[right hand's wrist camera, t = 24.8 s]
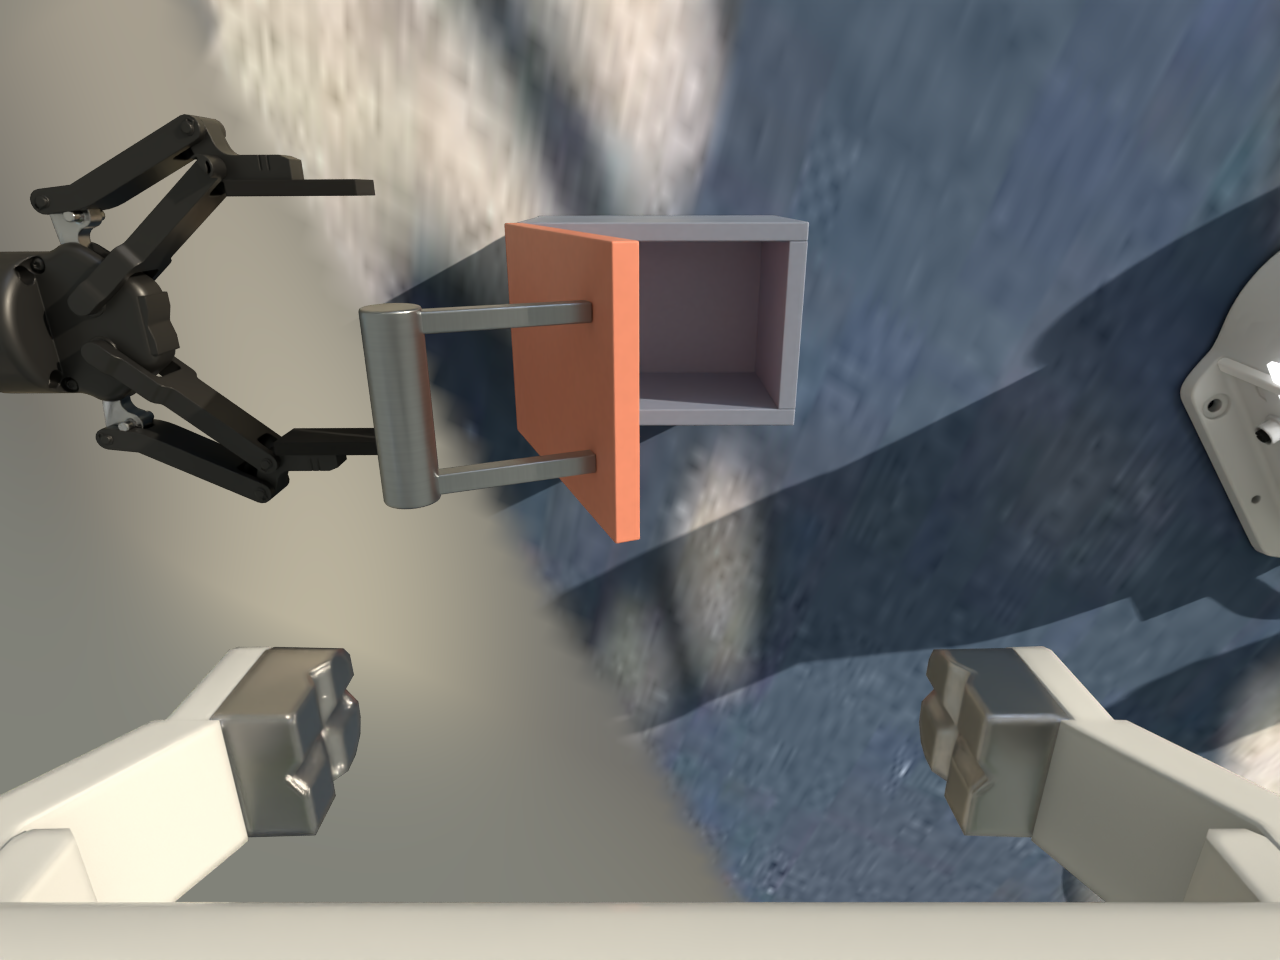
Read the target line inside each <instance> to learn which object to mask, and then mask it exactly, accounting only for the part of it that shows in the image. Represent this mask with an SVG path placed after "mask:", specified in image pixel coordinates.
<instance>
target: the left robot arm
mask: <svg viewBox="0 0 1280 960" xmlns="http://www.w3.org/2000/svg"><path fill="white" fill-rule="evenodd" d="M225 137H226V131H225V128H224V126H223V125H222V124H221V123H220V122H219V121H217V120H216V119H210V118H205V117H199V116H193V115H186V114H184V115H180V116H179V117H177V118H175V119H174V120H172V121H171V122H169V123H167V124H166V125H164V126H163V127H161V128H160V129H158V130H156V131H155V132H153V133H152V134H150V135H148V136H147V137H145V138H144V139H142V140H140V141H139V142H137V143H136V144H134V145H133V146H131V147H129V148H128V149H126V150H125V151H123V152H121V153H120V154H118V155H117V156H115V157H114V158H112V159H110V160H109V161H107V162H106V163H104V164H102V165H101V166H99V167H98V168H96V169H94V170H93V171H91V172H90V173H88V174H86V175H85V176H83V177H82V178H80V179H79V180H77V181H75V182H74V183H72V184H71V185H65V186H58V187H50V188H42V189H37V190H34V191H33V192H32V193H31V197H30V201H31V204H32V206H33V208H34V209H35V210H36V211H37V212H39V213H41V214H47V215H50V217H51V220H52V223H53V225H54V228H55V230H56V233H57V236H58V238H59V241H60V244H61V245H60V246H58V247H57V248H56V249H54V250H52V251H50V252H0V392H2V393H85V394H88V395H91V396H94V397H96V398H98V399H100V400H102V402H103V409H104V416H105V422H106V427H105V428H103V429H101V430H99V431H98V432H97V434H96V440H97V443H98V444H99V445H100V446H101V447H103V448H105V449H110V450H119V451H129V452H139V453H141V454H144V455H146V456H148V457H151V458H153V459H156V460H158V461H160V462H163V463H165V464H168V465H170V466H172V467H175V468H177V469H180V470H182V471H184V472H187V473H189V474H192V475H194V476H196V477H199V478H201V479H204V480H206V481H208V482H211V483H213V484H215V485H218V486H220V487H223V488H225V489H227V490H230V491H232V492H235V493H237V494H240V495H242V496H244V497H247V498H249V499H252V500H254V501H256V502H259V503H266V502H268V501H269V500H271V499H272V498H273V497H274V496H275V495H277V494H278V493H279V492H280V491H281V490H282V489H284V488H285V487H286V486H287V485H288V484H289V476H288V471H312V470H313V471H319V470H320V471H330V470H333V469H335V468H337V467H339V466H340V465H341V464H342V463H343V462H344V461H345V460H346V459H347V458H346V455H378V453H377V446H376V438H375V431H374V428H294V429H292V430H291V431H289V432H288V433H287V434H285V435H284V436H282V437H281V436H280V435H278V434H277V433H275V432H274V431H273V430H271V429H270V428H268V427H267V426H265V425H264V424H262V423H261V422H260V421H258V420H257V419H255V418H254V417H252V416H251V415H250V414H248V413H247V412H245V411H244V410H242V409H241V408H240V407H238V406H237V405H235V404H234V403H232V402H231V401H230V400H228V399H227V398H225V397H224V396H222V395H221V394H220V393H218V392H217V391H215V390H214V389H212V388H211V387H210V386H208V385H207V384H205V383H204V382H202V381H201V380H200V379H198V378H197V374H196V372H195V371H194V370H193V369H191V368H190V367H189V366H187V365H186V364H184V363H183V362H181V361H180V360H179V359H177V358H176V357H174V355H175V349H178V348H180V346H179V342H178V338H177V334H176V332H175V330H174V328H173V326H172V324H171V322H170V302H169V298H168V293H167V292H162V290H161V288H160V287H159V285H158V284H157V283H156V282H155V280H156V278H157V277H158V276H159V275H160V274H161V273H162V272H163V271H164V270H165V269H166V268H167V266H168V265H169V264H170V263H171V261H172V260H171V257H172V256H173V255H174V254H175V253H176V251H177V250H178V249H179V248H180V247H181V246H182V245H183V244H184V243H185V242H186V240H187V239H188V238H189V237H190V236H191V235H192V234H193V233H194V232H195V231H196V229H197V228H198V227H199V226H200V225H201V224H202V223H203V222H204V221H205V220H206V218H207V217H208V216H209V215H210V214H211V213H212V212H213V211H214V210H215V209H216V207H217V206H218V205H219V204H220V203H221V202H222V201H223V200H224V199H225V198H226V196H362V195H375V190H374V182H373V180H360V179H322V180H304V176H303V169H302V163H301V160H299V159H297V158H294V157H292V156H286V155H238V154H237V153H235V152H234V151H233V150H232V149H231V148H230V146H229V145H228V143H227V141H226V139H225ZM195 159H197V161H196V162H195V163H194V164H193V165H192V167H191V168H190V169H189V170H188V171H187V172H186V173H185V174H184V176H183V177H182V178H181V179H180V180H179V181H178V182H177V183H176V185H175V186H174V187H173V188H172V189H171V190H170V191H169V193H168V194H167V195H166V196H165V197H164V198H163V199H162V200H161V202H160V203H159V204H158V205H157V206H156V207H155V208H154V210H153V211H152V212H151V213H150V214H149V215H148V216H147V217H146V219H145V220H144V221H143V222H142V223H141V224H140V225H139V227H138V228H137V229H136V230H135V231H134V232H133V234H132V235H131V236H130V237H129V238H128V239H127V240H126V241H125V242H124V243H123V244H121V245H120V246H117V247H116V248H114V249H113V250H112V251H111V252H109V251H108V250H106V249H105V248H103V247H101V246H100V245H98V244H96V243H93V242H91V241H90V232H91V230H92V229H93V228H95V227H97V226H99V225H100V224H101V222H102V220H104V219H105V213H104V212H103V211H102V210H106V209H111V208H114V207H116V206H119V205H121V204H123V203H125V202H126V201H128V200H129V199H131V198H133V197H134V196H136V195H138V194H139V193H141V192H143V191H144V190H146V189H147V188H149V187H151V186H152V185H154V184H156V183H157V182H159V181H160V180H162V179H164V178H165V177H167V176H169V175H170V174H172V173H173V172H175V171H177V170H178V169H180V168H182V167H183V166H185V165H186V164H188V163H190V162H191V161H193V160H195ZM157 374H160V375H161V376H162V377H158V376H156V375H157ZM135 393H138V394H139V395H140V396H142V397H143V398H145V399H146V400H148V401H150V402H153V403H157V404H162V405H164V406H166V407H167V408H169V409H170V410H172V411H173V412H174V413H176V414H177V415H179V416H180V417H182V418H183V419H185V420H186V421H188V422H189V423H191V424H192V425H194V426H195V427H196V428H198V429H199V430H201V431H202V432H204V433H205V434H207V435H208V436H210V437H211V438H213V439H214V440H216V441H217V442H218V443H217V442H215V441H213V440H210V439H208V438H206V437H203V436H201V435H198V434H196V433H194V432H192V431H189V430H187V429H184V428H182V427H180V426H177V425H175V424H172V423H169V422H166V421H162V420H156V419H154V415H153V413H152V412H150V411H145V410H142V409H139V408H137V407H136V406H135V405H134V404H133V403H132V402H131V399H130V396H132V395H134V394H135Z"/></svg>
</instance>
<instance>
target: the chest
mask: <svg viewBox="0 0 1280 960" xmlns="http://www.w3.org/2000/svg"><path fill="white" fill-rule="evenodd" d="M518 223H527V224H533V225H540V226H546V227H553V228H559V229H566V230H572V231H579V232H585V233H592V234H598V235H605V236H611V237H617V238H624V239H630V240H637V241H639V425H794V416H795V403H796V390H797V377H798V363H799V350H800V337H801V323H802V310H803V297H804V283H805V270H806V257H807V243H808V242H807V240H808V228H809V223H808V222H805V221H800V220H795V219H789V218H784V217H779V216H776V215H751V216H538V217H536V218H532V219H529V220H525V221H521V222H518Z"/></svg>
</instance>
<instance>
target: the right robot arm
mask: <svg viewBox="0 0 1280 960" xmlns="http://www.w3.org/2000/svg"><path fill="white" fill-rule="evenodd" d="M1180 397H1181V400H1182V402H1183V404H1184V407H1185V409H1186V411H1187V413H1188V415H1189V417H1190V419H1191V421H1192V423H1193V425H1194V427H1195V429H1196V431H1197V433H1198V436H1199V438H1200V440H1201V442H1202V444H1203V446H1204V448H1205V450H1206V452H1207V454H1208V456H1209V458H1210V460H1211V462H1212V464H1213V467H1214V469H1215V471H1216V473H1217V475H1218V477H1219V479H1220V481H1221V483H1222V485H1223V487H1224V489H1225V491H1226V493H1227V496H1228V498H1229V500H1230V502H1231V504H1232V506H1233V508H1234V510H1235V512H1236V514H1237V516H1238V518H1239V520H1240V522H1241V524H1242V527H1243V529H1244V531H1245V533H1246V535H1247V537H1248V539H1249V541H1250V543H1251V545H1252V546H1253V547H1254V549H1255V550H1256V551H1258V552H1261V553H1263V554H1265V555H1268V556H1273V557H1280V251H1279V252H1277V253H1276V254H1275V255H1274V256H1273V257H1272V258H1270V259H1269V260H1268V261H1267V262H1266V263H1265V264H1264V265H1263V266H1262V267H1261V268H1260V269H1259V270H1258V271H1257V272H1256V273H1255V274H1254V276H1253V277H1252V278H1251V279H1250V280H1249V282H1248V283H1247V284H1246V285H1245V287H1244V288H1243V290H1242V291H1241V292H1240V294H1239V295H1238V297H1237V298H1236V300H1235V302H1234V304H1233V305H1232V307H1231V309H1230V311H1229V313H1228V315H1227V317H1226V319H1225V322H1224V324H1223V326H1222V328H1221V331H1220V333H1219V335H1218V337H1217V339H1216V341H1215V343H1214V345H1213V347H1212V348H1211V350H1210V351H1209V352H1208V353H1207V354H1206V355H1205V356H1204V357H1203V359H1202V360H1201V361H1200V362H1199V363H1198V364H1197V365H1196V366H1195V367H1194V369H1193V370H1192V371H1191V372H1190V374H1189V375H1188V376H1187V378H1186V379H1185V381H1184V382H1183V384H1182V387H1181V390H1180ZM1212 400H1214V402H1213V405H1212V406H1211V407H1210V408H1208V404H1209V403H1210V402H1211V401H1212ZM926 675H927V677H928V679H929V681H930V682H931V684H932V686H933V688H934V690H933V691H932V692H931V693H930V694H929V695H928V696H927V697H926V698H925V699H924V700H923V701H922V703H921V711H920V719H919V726H920V737H921V744H922V748H923V751H924V755H925V758H926V760H927V762H928V764H929V766H930V768H931V770H932V771H933V772H934V773H936V774H937V775H939V776H940V777H941V778H943V779H944V780H946V781H947V784H946V789H945V795H944V796H945V798H946V800H947V802H948V804H949V806H950V808H951V810H952V812H953V814H954V816H955V818H956V820H957V821H958V823H959V825H960V827H961V829H962V831H963V833H964V835H972V836H1007V837H1032V839H1031V840H1032V841H1033V842H1034V843H1035V844H1036V845H1038V846H1039V847H1040V848H1041V849H1042V850H1044V851H1045V852H1046V853H1047V854H1048V855H1050V856H1051V857H1052V858H1053V859H1055V860H1056V861H1057V862H1058V863H1059V864H1061V865H1062V866H1063V867H1064V868H1065V869H1067V870H1068V871H1069V872H1070V873H1071V874H1073V875H1074V876H1075V877H1076V878H1077V879H1079V880H1080V881H1081V882H1082V883H1083V884H1085V885H1086V886H1087V887H1088V888H1089V889H1091V890H1092V891H1093V892H1094V893H1095V894H1097V895H1098V896H1099V897H1100V898H1102V899H1103V900H1104V901H1105V902H175V901H176V900H177V899H179V898H180V897H181V896H182V895H184V894H185V893H186V892H187V891H188V890H190V889H191V888H192V887H193V886H194V885H196V884H197V883H198V882H199V881H200V880H202V879H203V878H204V877H205V876H206V875H208V874H209V873H210V872H211V871H212V870H214V869H215V868H216V867H217V866H219V865H220V864H221V863H222V862H223V861H225V860H226V859H227V858H228V857H229V856H231V855H232V854H233V853H234V852H235V851H237V850H238V849H239V848H240V847H241V846H243V845H244V844H245V843H246V842H247V841H248V837H272V836H306V835H316V833H317V831H318V829H319V827H320V826H321V824H322V822H323V820H324V817H325V816H326V814H327V812H328V810H329V808H330V806H331V804H332V802H333V800H334V798H335V796H336V795H335V789H334V784H333V781H334V780H336V779H337V778H339V777H340V776H341V775H343V774H344V773H346V772H347V771H348V770H349V768H350V766H351V764H352V762H353V759H354V757H355V755H356V751H357V747H358V742H359V737H360V718H361V717H360V710H359V703H358V701H357V700H356V699H355V698H354V697H353V696H352V695H351V694H350V693H349V692H348V691H347V690H346V688H347V686H348V684H349V682H350V681H351V679H352V677H353V676H354V673H353V668H352V663H351V658H350V654H349V653H348V652H347V651H346V650H345V649H343V648H299V647H273V648H271V647H237V648H233V649H230V650H229V651H228V652H227V653H226V654H225V655H224V656H223V657H222V658H221V659H220V660H219V662H218V663H217V664H216V665H215V666H214V667H213V668H212V669H211V670H210V672H209V673H208V674H207V675H206V676H205V677H204V678H203V679H202V680H201V681H200V683H199V684H198V685H197V686H196V687H195V688H194V689H193V690H192V691H191V693H190V694H189V695H188V696H187V697H186V698H185V699H184V700H183V701H182V703H181V704H180V705H179V706H178V707H177V708H176V709H175V710H174V711H173V713H172V714H171V715H170V716H169V717H168V718H167V719H166V720H153V721H151V722H149V723H147V724H145V725H143V726H141V727H139V728H137V729H135V730H133V731H131V732H129V733H126V734H124V735H122V736H120V737H118V738H116V739H114V740H112V741H110V742H108V743H106V744H104V745H102V746H100V747H98V748H96V749H94V750H92V751H90V752H88V753H86V754H84V755H82V756H79V757H77V758H75V759H73V760H71V761H69V762H67V763H65V764H63V765H61V766H59V767H57V768H55V769H53V770H51V771H49V772H47V773H45V774H43V775H41V776H39V777H36V778H34V779H32V780H30V781H28V782H26V783H24V784H22V785H20V786H18V787H16V788H14V789H12V790H10V791H8V792H6V793H4V794H2V795H0V960H1280V795H1278V794H1276V793H1274V792H1272V791H1270V790H1268V789H1266V788H1264V787H1262V786H1260V785H1258V784H1255V783H1253V782H1251V781H1249V780H1247V779H1245V778H1243V777H1241V776H1239V775H1237V774H1235V773H1233V772H1231V771H1229V770H1227V769H1225V768H1223V767H1221V766H1219V765H1217V764H1215V763H1213V762H1211V761H1209V760H1207V759H1205V758H1202V757H1200V756H1198V755H1196V754H1194V753H1192V752H1190V751H1188V750H1186V749H1184V748H1182V747H1180V746H1178V745H1176V744H1174V743H1172V742H1170V741H1168V740H1166V739H1164V738H1162V737H1160V736H1158V735H1156V734H1154V733H1151V732H1149V731H1147V730H1145V729H1143V728H1141V727H1139V726H1137V725H1135V724H1133V723H1131V722H1129V721H1127V720H1114V719H1113V718H1112V717H1111V716H1110V715H1109V714H1108V713H1107V711H1106V710H1105V709H1104V708H1103V707H1102V706H1101V705H1100V704H1099V703H1098V701H1097V700H1096V699H1095V698H1094V697H1093V696H1092V695H1091V694H1090V693H1089V691H1088V690H1087V689H1086V688H1085V687H1084V686H1083V685H1082V684H1081V683H1080V681H1079V680H1078V679H1077V678H1076V677H1075V676H1074V675H1073V674H1072V673H1071V671H1070V670H1069V669H1068V668H1067V667H1066V666H1065V665H1064V664H1063V663H1062V661H1061V660H1060V659H1059V658H1058V657H1057V656H1056V655H1055V654H1054V653H1053V651H1051V650H1050V649H1047V648H1045V647H1043V646H1036V647H1008V648H985V649H934V650H933V652H932V654H931V656H930V658H929V661H928V667H927V673H926Z"/></svg>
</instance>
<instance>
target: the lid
mask: <svg viewBox="0 0 1280 960" xmlns="http://www.w3.org/2000/svg"><path fill="white" fill-rule="evenodd" d="M505 240H506V256H507V272H508V287H509V303H510V304H501V305H483V306H465V307H447V308H429V309H422V308H421V306H419V305H416V304H409V303H386V304H375V305H368V306H364V307H362V308H360V309H359V319H360V327H361V334H362V341H363V349H364V356H365V364H366V371H367V379H368V386H369V394H370V401H371V408H372V416H373V423H374V431H375V438H376V446H377V453H378V460H379V468H380V475H381V483H382V490H383V498H384V502H385V504H386V505H387V506H389V507H392V508H397V509H414V508H420V507H425V506H428V505H431V504H433V503H435V502H436V501H438V500H439V499H440V496H441V494H447V493H454V492H461V491H469V490H476V489H483V488H490V487H497V486H504V485H511V484H518V483H525V482H532V481H539V480H546V479H553V478H560V479H561V481H562V482H563V483H564V484H565V485H566V486H567V488H568V489H569V490H570V491H571V492H572V493H573V494H574V496H575V497H576V498H577V499H578V500H579V501H580V503H581V504H582V505H583V506H584V507H585V508H586V510H587V511H588V512H589V513H590V514H591V515H592V516H593V518H594V519H595V520H596V521H597V522H598V523H599V525H600V526H601V527H602V528H603V529H604V530H605V532H606V533H607V534H608V535H609V536H610V537H611V538H612V540H613V541H614V542H615V543H622V542H627V541H633V540H638V539H639V538H640V511H639V241H637V240H630V239H624V238H617V237H611V236H605V235H598V234H592V233H585V232H579V231H572V230H566V229H559V228H553V227H546V226H540V225H533V224H527V223H505ZM507 328H511V335H512V351H513V367H514V383H515V399H516V415H517V429H518V431H519V432H520V433H521V434H522V435H523V437H524V438H525V439H526V440H527V441H528V442H529V443H530V445H531V446H532V447H533V448H534V449H535V450H536V452H537V453H538V454H539V455H540V456H536V457H528V458H520V459H513V460H505V461H497V462H489V463H482V464H474V465H466V466H459V467H451V468H443V469H438V460H437V450H436V440H435V431H434V421H433V412H432V402H431V393H430V383H429V373H428V364H427V354H426V345H425V335H424V334H432V333H447V332H462V331H477V330H492V329H507Z"/></svg>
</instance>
